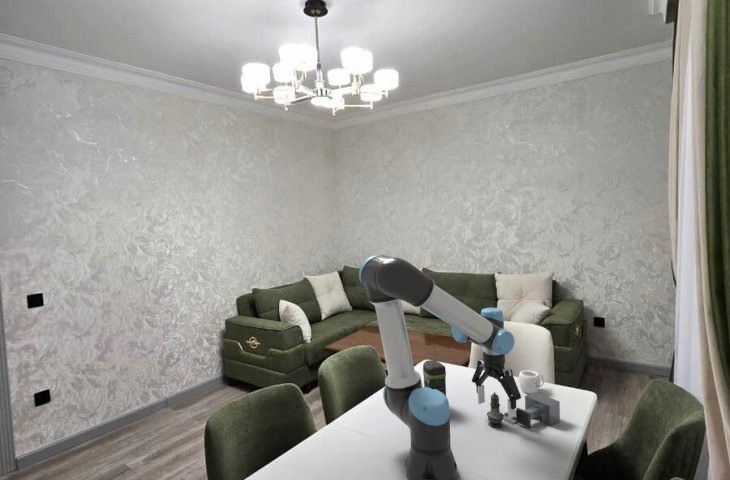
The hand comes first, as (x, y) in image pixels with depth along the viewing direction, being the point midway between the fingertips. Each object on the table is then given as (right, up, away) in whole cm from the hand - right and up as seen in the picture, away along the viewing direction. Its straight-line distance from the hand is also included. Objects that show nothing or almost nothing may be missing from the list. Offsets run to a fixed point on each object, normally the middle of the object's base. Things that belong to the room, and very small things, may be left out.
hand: (496, 409), depth 146 cm
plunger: (+11, -4, +2) cm, 12 cm away
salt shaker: (0, -6, 0) cm, 6 cm away
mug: (+25, -3, +27) cm, 36 cm away
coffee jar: (-19, -6, +14) cm, 25 cm away
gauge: (+13, -5, +3) cm, 14 cm away
